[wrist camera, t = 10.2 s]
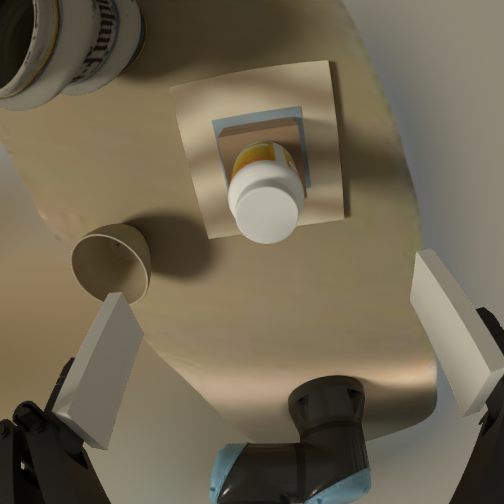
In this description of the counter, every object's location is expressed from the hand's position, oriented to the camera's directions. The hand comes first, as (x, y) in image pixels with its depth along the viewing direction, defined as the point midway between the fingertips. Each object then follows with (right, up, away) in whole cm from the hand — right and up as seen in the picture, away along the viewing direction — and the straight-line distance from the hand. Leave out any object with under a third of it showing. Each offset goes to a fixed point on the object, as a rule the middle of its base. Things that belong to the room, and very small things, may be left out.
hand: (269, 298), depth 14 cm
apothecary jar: (-16, +25, +12) cm, 32 cm away
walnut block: (0, +12, +19) cm, 22 cm away
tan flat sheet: (0, +13, +19) cm, 23 cm away
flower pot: (-17, +3, +26) cm, 31 cm away
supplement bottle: (0, +9, +15) cm, 17 cm away
